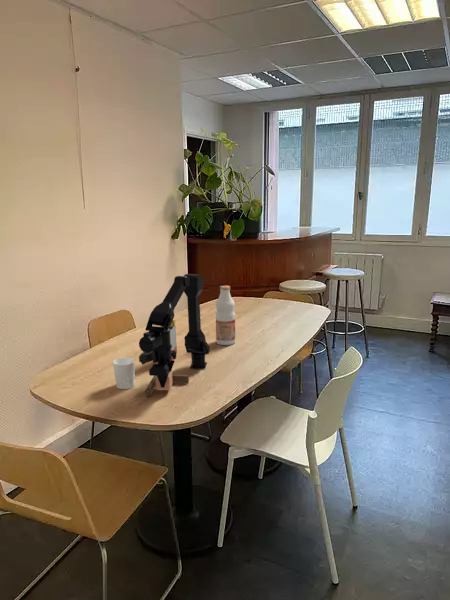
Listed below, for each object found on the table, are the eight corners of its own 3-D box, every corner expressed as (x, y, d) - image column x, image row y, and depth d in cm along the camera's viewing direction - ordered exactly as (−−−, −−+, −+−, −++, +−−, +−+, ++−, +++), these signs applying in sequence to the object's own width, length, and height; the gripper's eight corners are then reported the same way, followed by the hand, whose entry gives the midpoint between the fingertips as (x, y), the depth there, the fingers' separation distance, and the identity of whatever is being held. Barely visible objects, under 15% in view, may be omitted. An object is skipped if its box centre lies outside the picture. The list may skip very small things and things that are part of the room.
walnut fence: (155, 380, 172) (155, 373, 172) (189, 381, 171) (188, 374, 170) (146, 396, 159) (145, 389, 158) (182, 397, 158) (182, 390, 157)
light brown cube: (159, 383, 165) (158, 371, 164) (172, 384, 165) (171, 371, 164) (156, 389, 160) (155, 376, 159) (169, 389, 160) (169, 377, 159)
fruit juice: (212, 341, 217) (211, 286, 211) (228, 338, 222) (227, 283, 216) (222, 347, 209) (222, 289, 203) (239, 343, 215) (238, 286, 208)
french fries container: (154, 364, 189) (152, 324, 185) (168, 356, 198) (166, 317, 194) (163, 366, 187) (161, 325, 183) (177, 357, 196) (175, 318, 192)
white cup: (137, 381, 172) (136, 357, 170) (134, 389, 165) (132, 364, 162) (117, 381, 172) (115, 357, 170) (112, 390, 164) (111, 365, 162)
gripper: (147, 335, 169) (149, 373, 172) (133, 352, 150) (135, 394, 154) (175, 335, 168) (177, 374, 171) (165, 353, 150) (167, 395, 153)
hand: (164, 384), depth 162 cm, fingers closed on light brown cube, 5 cm apart
